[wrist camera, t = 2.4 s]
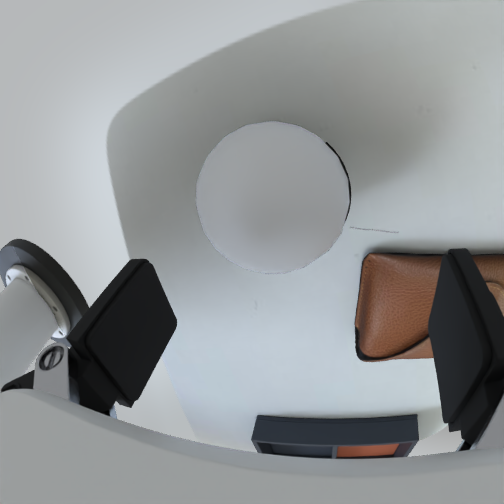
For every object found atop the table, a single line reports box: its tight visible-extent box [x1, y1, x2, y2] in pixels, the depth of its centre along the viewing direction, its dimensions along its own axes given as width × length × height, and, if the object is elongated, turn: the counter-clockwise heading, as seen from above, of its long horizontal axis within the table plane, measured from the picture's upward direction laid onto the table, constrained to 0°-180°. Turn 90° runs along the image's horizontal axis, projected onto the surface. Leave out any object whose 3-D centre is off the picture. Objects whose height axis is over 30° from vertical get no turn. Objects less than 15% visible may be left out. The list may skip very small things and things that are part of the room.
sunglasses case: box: [355, 253, 504, 362], centre depth 18 cm, size 18×7×7 cm, turn 101°
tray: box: [251, 415, 419, 459], centre depth 33 cm, size 20×13×4 cm, turn 101°
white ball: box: [196, 121, 398, 274], centre depth 15 cm, size 10×7×7 cm
